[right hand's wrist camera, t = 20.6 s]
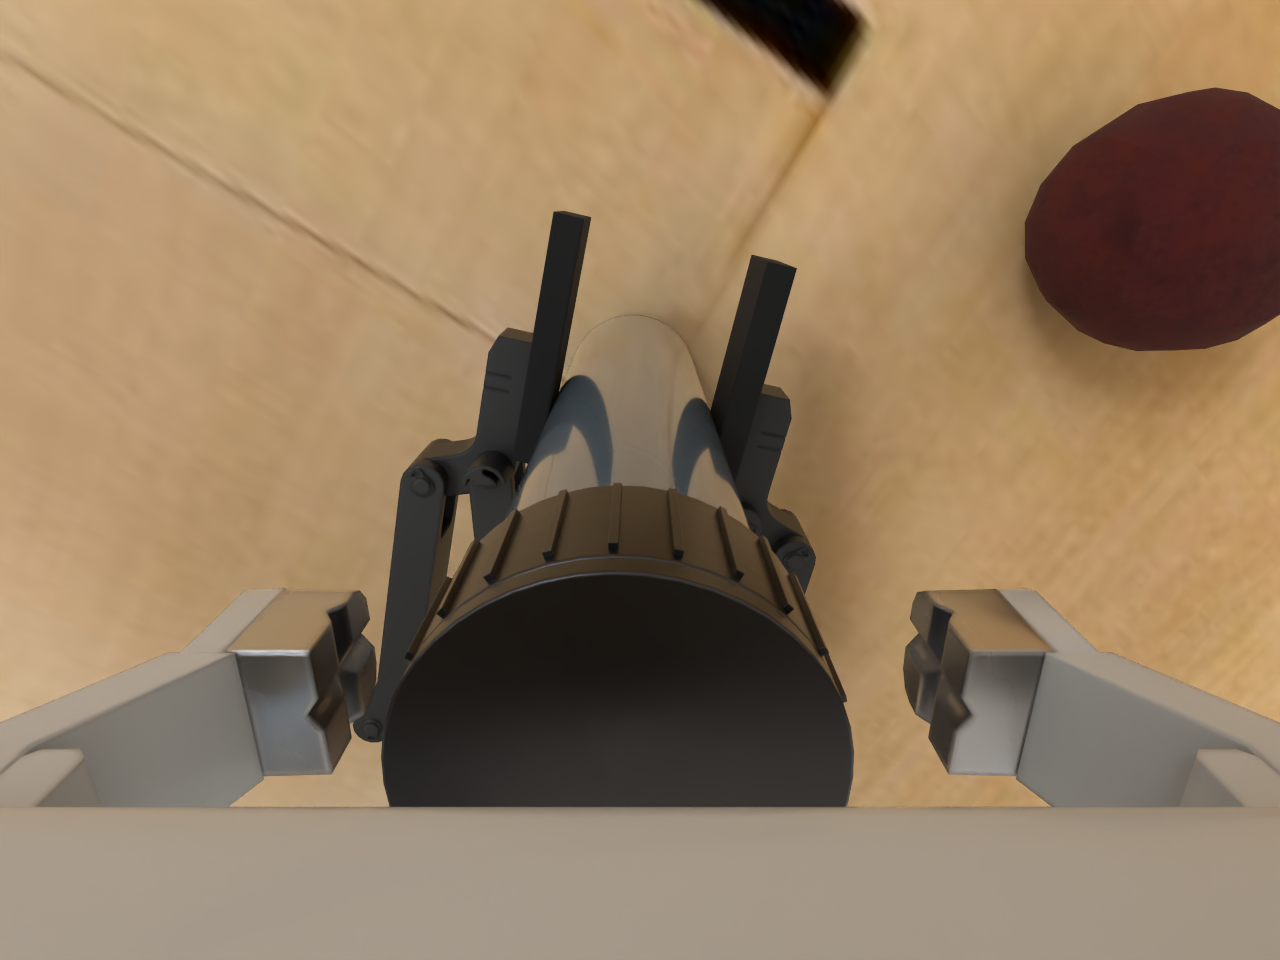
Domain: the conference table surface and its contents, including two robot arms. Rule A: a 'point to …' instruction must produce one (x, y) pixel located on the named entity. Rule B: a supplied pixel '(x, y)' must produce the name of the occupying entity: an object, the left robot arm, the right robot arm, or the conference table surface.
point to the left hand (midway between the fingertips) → (673, 240)
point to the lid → (619, 668)
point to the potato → (1165, 224)
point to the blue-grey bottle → (631, 422)
